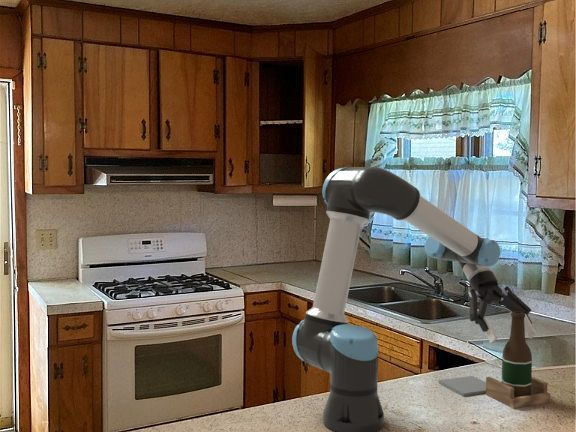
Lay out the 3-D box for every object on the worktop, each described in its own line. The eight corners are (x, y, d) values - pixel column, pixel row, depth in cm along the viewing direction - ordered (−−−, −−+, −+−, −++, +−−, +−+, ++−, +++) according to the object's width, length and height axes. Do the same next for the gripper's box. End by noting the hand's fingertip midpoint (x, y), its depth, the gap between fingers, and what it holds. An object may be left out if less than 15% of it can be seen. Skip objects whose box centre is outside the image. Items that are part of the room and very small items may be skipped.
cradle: (513, 408, 166) (513, 389, 166) (485, 394, 177) (486, 377, 176) (550, 402, 170) (550, 384, 170) (521, 389, 181) (521, 372, 181)
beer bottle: (512, 404, 169) (514, 316, 168) (495, 394, 177) (497, 310, 175) (537, 401, 171) (539, 314, 170) (519, 391, 179) (521, 308, 177)
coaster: (463, 396, 175) (463, 393, 175) (438, 382, 186) (438, 380, 186) (498, 391, 179) (498, 388, 179) (472, 378, 190) (472, 375, 190)
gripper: (507, 281, 196) (541, 340, 183) (440, 286, 187) (470, 349, 174) (520, 266, 191) (556, 327, 178) (451, 271, 182) (483, 335, 169)
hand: (514, 338), depth 176 cm, fingers open, 13 cm apart
